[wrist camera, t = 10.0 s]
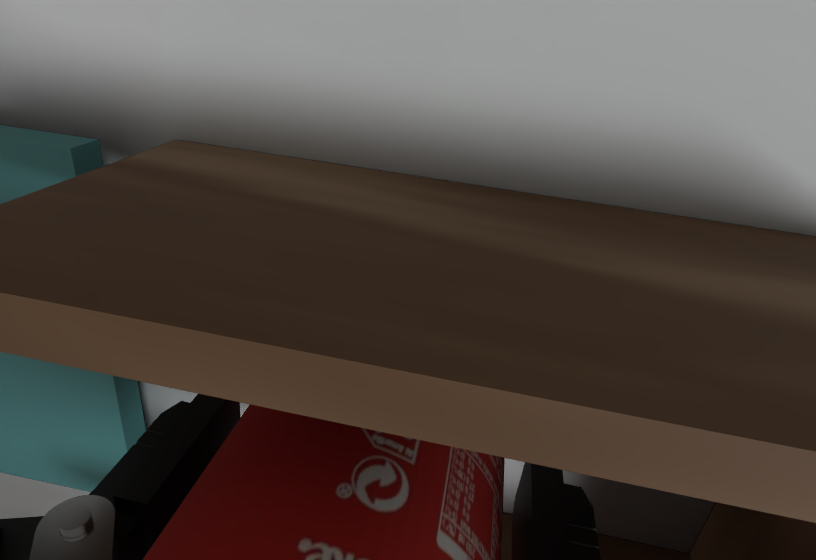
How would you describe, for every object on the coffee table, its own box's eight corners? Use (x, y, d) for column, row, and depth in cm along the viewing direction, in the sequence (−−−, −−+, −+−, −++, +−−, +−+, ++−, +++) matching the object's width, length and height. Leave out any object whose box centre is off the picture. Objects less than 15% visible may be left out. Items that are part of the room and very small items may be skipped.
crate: (710, 581, 18) (837, 956, 11) (207, 467, 20) (35, 717, 13) (898, 249, 12) (1413, 568, 5) (176, 139, 14) (-157, 261, 7)
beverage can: (266, 369, 17) (-135, 931, 7) (378, 231, 14) (-6, 826, 4) (418, 479, 18) (279, 1130, 8) (553, 369, 15) (631, 1165, 5)
